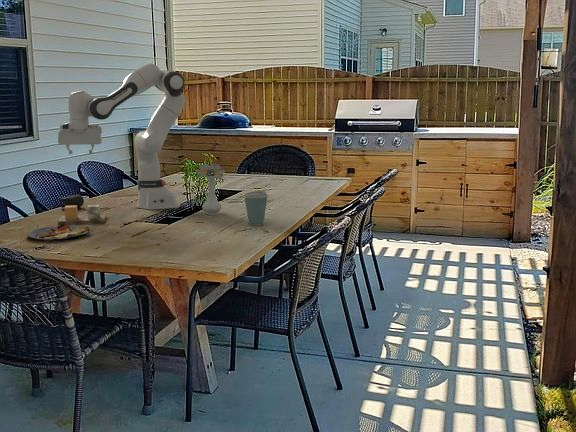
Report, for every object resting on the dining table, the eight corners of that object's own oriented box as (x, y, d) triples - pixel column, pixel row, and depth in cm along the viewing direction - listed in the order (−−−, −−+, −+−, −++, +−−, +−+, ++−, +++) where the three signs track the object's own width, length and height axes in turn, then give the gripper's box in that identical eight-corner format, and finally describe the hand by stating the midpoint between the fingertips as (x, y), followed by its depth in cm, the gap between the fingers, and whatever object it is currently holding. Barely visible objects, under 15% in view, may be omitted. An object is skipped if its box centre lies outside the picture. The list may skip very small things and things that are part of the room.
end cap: (71, 211, 327) (70, 197, 326) (60, 210, 330) (59, 196, 328) (84, 207, 336) (83, 194, 335) (73, 206, 339) (72, 194, 337)
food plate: (69, 227, 287) (69, 219, 287) (101, 235, 273) (100, 227, 272) (16, 238, 269) (15, 229, 268) (46, 247, 254) (46, 238, 253)
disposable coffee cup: (250, 227, 288) (249, 194, 286) (240, 223, 298) (240, 190, 295) (271, 225, 293) (271, 192, 290) (261, 221, 303) (261, 189, 300)
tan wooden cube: (77, 216, 303) (77, 205, 302) (76, 219, 298) (75, 207, 297) (66, 217, 302) (66, 205, 301) (65, 219, 298) (64, 207, 297)
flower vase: (227, 210, 330) (227, 161, 325) (221, 217, 312) (220, 165, 307) (202, 210, 331) (201, 160, 326) (194, 216, 313) (193, 165, 308)
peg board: (106, 217, 310) (105, 203, 309) (103, 223, 297) (103, 208, 295) (62, 218, 307) (61, 204, 305) (57, 224, 293) (56, 209, 292)
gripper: (102, 124, 319) (103, 153, 322) (58, 125, 316) (60, 153, 318) (100, 125, 313) (102, 154, 316) (56, 125, 310) (58, 154, 312)
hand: (80, 153), depth 317 cm, fingers open, 8 cm apart
